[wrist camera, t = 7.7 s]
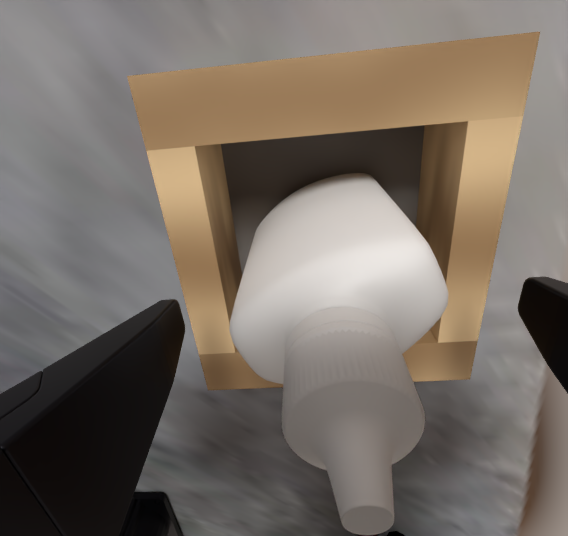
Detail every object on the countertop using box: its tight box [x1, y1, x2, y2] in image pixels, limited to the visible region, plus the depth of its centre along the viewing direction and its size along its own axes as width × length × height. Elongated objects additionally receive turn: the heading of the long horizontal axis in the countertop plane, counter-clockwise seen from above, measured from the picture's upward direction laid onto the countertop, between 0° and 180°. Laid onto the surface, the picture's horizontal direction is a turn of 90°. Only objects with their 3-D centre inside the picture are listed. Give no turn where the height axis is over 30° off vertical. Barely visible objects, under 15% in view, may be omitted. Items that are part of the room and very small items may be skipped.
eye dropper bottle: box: [229, 173, 448, 535], centre depth 10 cm, size 4×6×12 cm
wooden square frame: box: [127, 32, 540, 390], centre depth 14 cm, size 12×11×4 cm
